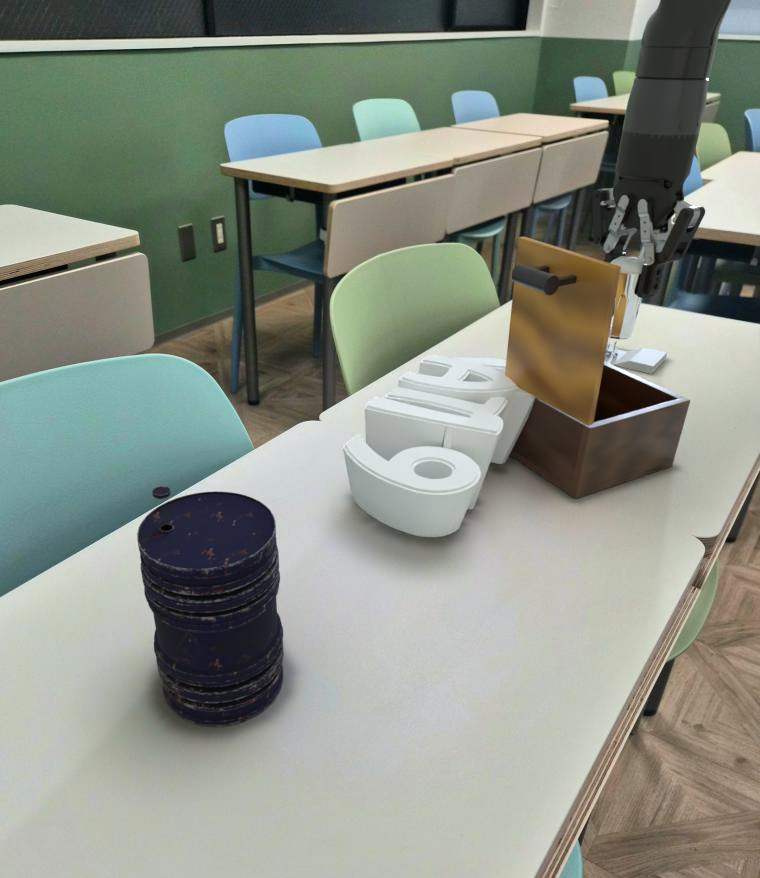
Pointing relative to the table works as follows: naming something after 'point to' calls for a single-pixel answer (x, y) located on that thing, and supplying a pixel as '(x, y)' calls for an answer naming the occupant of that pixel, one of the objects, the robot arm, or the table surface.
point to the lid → (560, 326)
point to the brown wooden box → (604, 436)
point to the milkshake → (626, 296)
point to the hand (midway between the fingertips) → (627, 290)
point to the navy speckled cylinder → (214, 604)
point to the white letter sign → (435, 443)
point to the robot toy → (635, 358)
